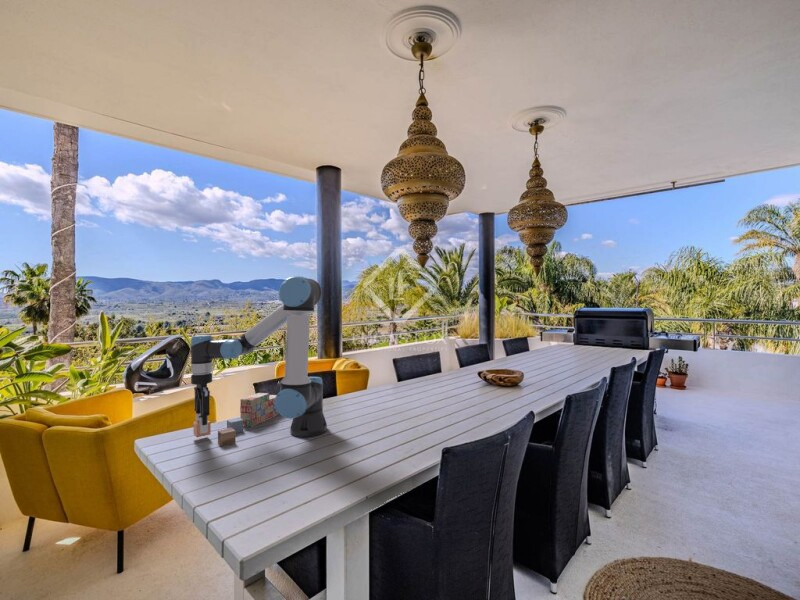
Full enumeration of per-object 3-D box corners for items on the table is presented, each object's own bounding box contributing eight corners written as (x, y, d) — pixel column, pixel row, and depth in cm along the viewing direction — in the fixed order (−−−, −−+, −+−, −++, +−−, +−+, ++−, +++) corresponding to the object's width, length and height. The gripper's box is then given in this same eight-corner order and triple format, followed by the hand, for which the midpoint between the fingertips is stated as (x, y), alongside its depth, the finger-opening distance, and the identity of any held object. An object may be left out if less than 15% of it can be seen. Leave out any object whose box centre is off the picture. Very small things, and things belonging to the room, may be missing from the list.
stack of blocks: (270, 412, 182) (270, 388, 182) (281, 413, 180) (281, 389, 180) (240, 426, 161) (240, 398, 162) (251, 427, 159) (251, 399, 160)
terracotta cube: (210, 434, 145) (210, 421, 145) (196, 437, 141) (196, 424, 142) (207, 431, 148) (207, 419, 149) (193, 434, 145) (193, 422, 145)
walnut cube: (235, 443, 140) (235, 430, 140) (221, 446, 137) (221, 433, 137) (231, 440, 144) (231, 427, 144) (217, 443, 140) (217, 430, 140)
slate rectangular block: (243, 431, 154) (243, 420, 154) (230, 434, 150) (230, 422, 150) (239, 429, 157) (239, 417, 157) (227, 431, 154) (227, 419, 154)
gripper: (185, 372, 150) (186, 428, 149) (197, 377, 136) (197, 439, 136) (205, 369, 155) (206, 424, 154) (218, 374, 142) (218, 434, 141)
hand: (202, 431), depth 145 cm, fingers closed on terracotta cube, 5 cm apart
